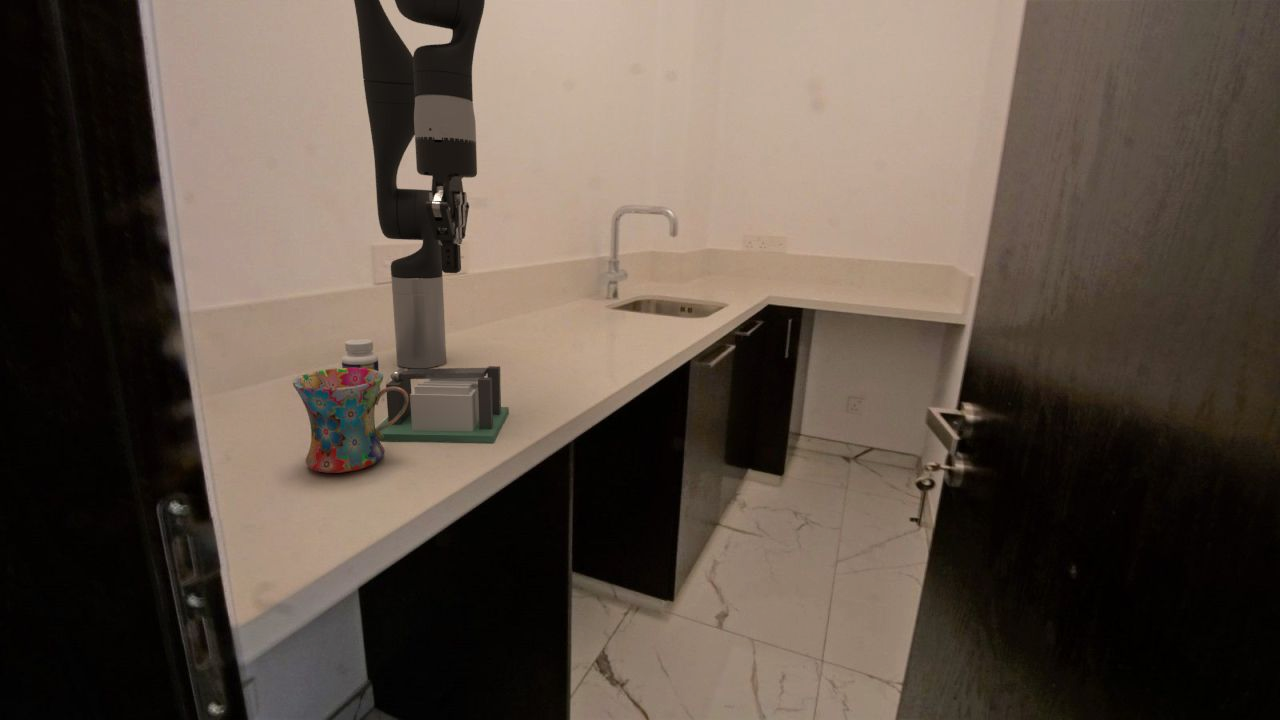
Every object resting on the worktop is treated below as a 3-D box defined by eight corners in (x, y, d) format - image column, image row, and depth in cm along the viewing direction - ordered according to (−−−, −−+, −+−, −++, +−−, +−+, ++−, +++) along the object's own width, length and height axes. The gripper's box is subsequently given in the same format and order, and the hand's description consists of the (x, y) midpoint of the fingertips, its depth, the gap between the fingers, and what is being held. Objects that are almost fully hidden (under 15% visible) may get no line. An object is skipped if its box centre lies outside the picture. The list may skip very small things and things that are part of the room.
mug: (290, 482, 65) (280, 390, 62) (315, 450, 73) (307, 368, 71) (406, 475, 67) (400, 387, 65) (417, 445, 76) (412, 366, 74)
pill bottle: (366, 400, 93) (362, 346, 90) (337, 397, 94) (332, 343, 91) (387, 391, 98) (383, 339, 96) (359, 388, 99) (355, 337, 97)
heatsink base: (401, 411, 88) (398, 360, 86) (508, 413, 89) (507, 362, 87) (369, 440, 77) (365, 382, 75) (493, 443, 78) (491, 385, 76)
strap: (398, 375, 82) (397, 368, 82) (488, 373, 83) (487, 366, 83) (391, 380, 80) (390, 373, 79) (483, 378, 80) (483, 371, 80)
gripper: (431, 141, 82) (437, 266, 86) (398, 130, 69) (407, 277, 73) (485, 144, 82) (489, 268, 86) (463, 133, 69) (468, 279, 74)
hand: (451, 272), depth 80 cm, fingers closed
